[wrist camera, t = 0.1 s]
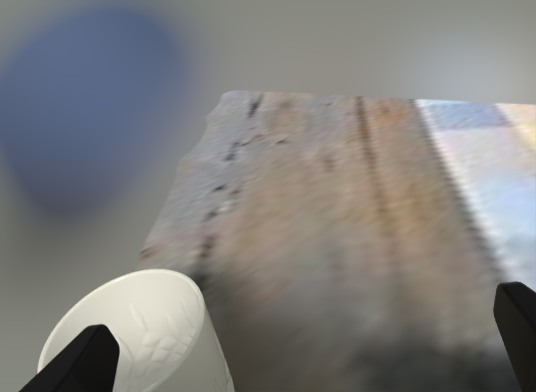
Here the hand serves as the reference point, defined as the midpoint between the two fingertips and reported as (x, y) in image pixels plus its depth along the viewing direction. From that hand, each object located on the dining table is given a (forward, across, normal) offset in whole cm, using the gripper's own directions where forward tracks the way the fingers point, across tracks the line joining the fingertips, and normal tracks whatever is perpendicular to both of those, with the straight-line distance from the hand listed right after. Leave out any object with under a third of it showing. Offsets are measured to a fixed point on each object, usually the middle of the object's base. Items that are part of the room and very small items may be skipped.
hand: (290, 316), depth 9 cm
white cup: (+6, +9, +17) cm, 20 cm away
